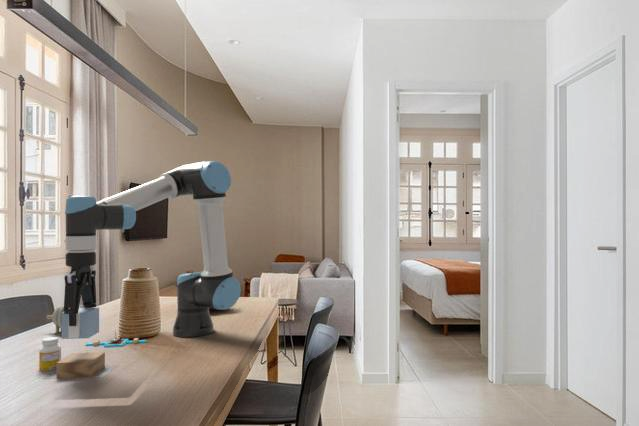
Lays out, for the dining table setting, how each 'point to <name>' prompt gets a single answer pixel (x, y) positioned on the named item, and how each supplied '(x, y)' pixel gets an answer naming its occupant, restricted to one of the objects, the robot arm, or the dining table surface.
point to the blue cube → (83, 323)
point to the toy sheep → (58, 317)
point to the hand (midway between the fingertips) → (80, 334)
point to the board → (100, 373)
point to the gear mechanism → (116, 342)
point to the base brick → (80, 365)
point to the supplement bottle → (49, 354)
